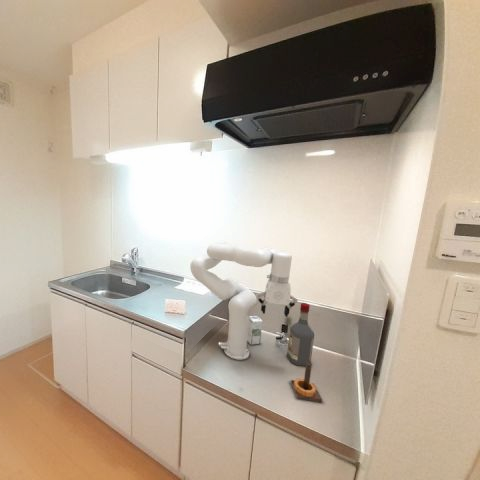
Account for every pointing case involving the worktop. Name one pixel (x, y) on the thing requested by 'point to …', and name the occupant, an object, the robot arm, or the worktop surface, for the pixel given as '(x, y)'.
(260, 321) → the syrup box
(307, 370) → the stand
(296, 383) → the ring
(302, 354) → the liquor
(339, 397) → the worktop surface
